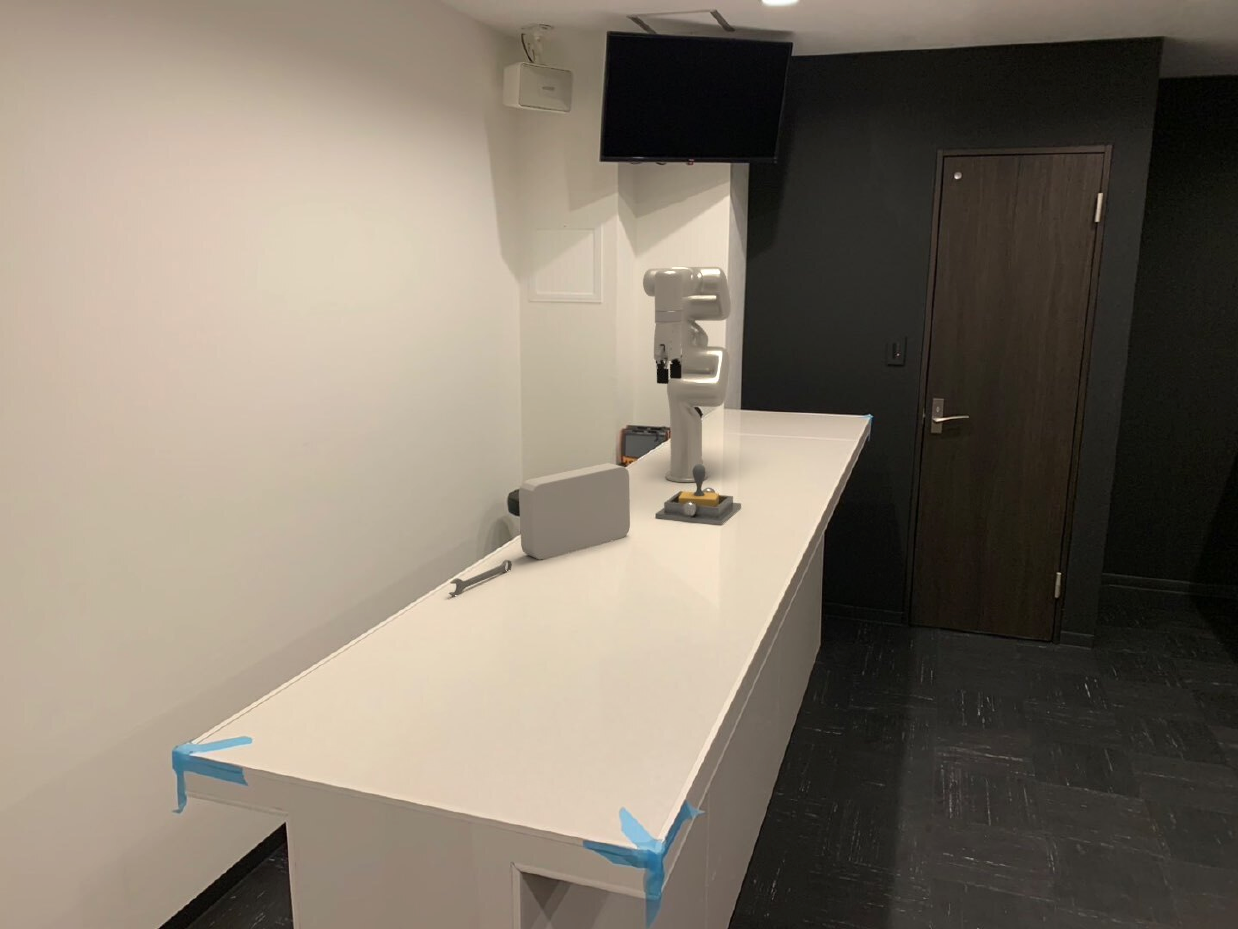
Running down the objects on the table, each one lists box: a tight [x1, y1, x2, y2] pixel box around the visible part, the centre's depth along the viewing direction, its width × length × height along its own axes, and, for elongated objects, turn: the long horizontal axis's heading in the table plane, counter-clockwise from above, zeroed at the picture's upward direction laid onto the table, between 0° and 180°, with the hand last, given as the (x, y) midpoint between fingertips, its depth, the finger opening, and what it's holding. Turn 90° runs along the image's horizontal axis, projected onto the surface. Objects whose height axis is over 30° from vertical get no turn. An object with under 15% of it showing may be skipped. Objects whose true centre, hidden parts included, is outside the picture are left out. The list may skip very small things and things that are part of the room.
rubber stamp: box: [679, 464, 720, 507], centre depth 247 cm, size 10×6×12 cm, turn 76°
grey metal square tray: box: [655, 487, 742, 526], centre depth 248 cm, size 17×18×5 cm
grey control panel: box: [518, 462, 631, 560], centre depth 223 cm, size 29×8×18 cm, turn 129°
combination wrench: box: [448, 559, 513, 597], centre depth 201 cm, size 4×1×20 cm
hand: (669, 380), depth 255 cm, fingers open, 9 cm apart
